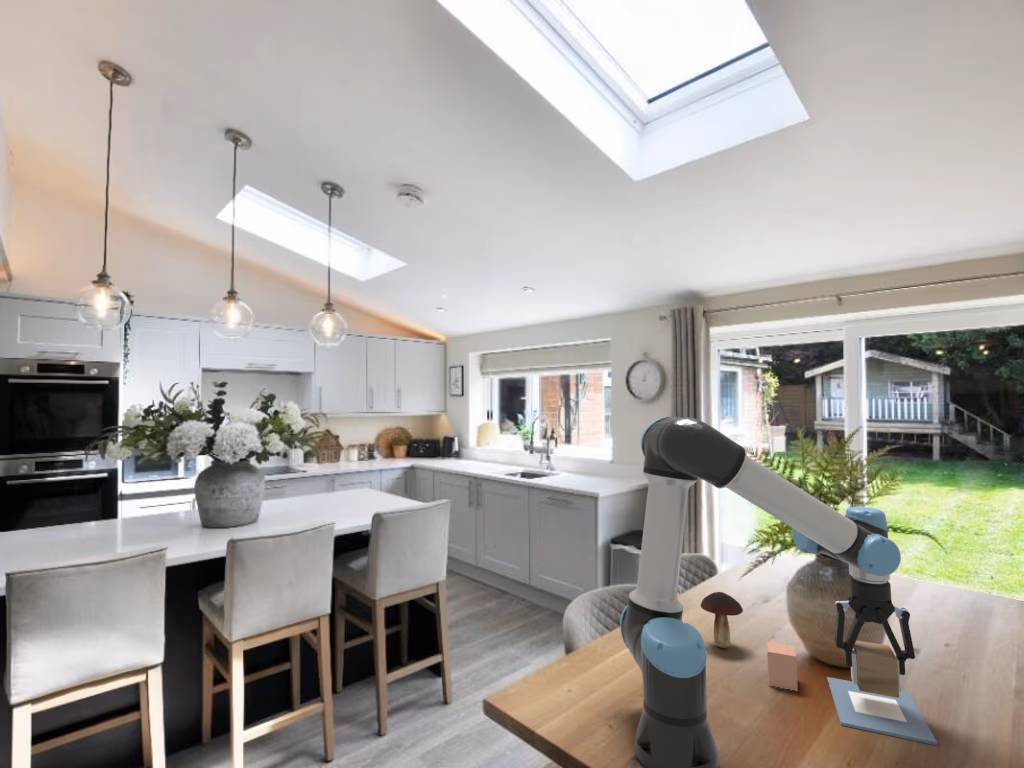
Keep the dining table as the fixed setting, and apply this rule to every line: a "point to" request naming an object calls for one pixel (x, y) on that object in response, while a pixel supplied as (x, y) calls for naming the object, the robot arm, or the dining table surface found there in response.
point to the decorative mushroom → (721, 615)
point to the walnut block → (876, 669)
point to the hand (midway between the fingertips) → (875, 684)
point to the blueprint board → (879, 712)
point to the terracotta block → (782, 666)
